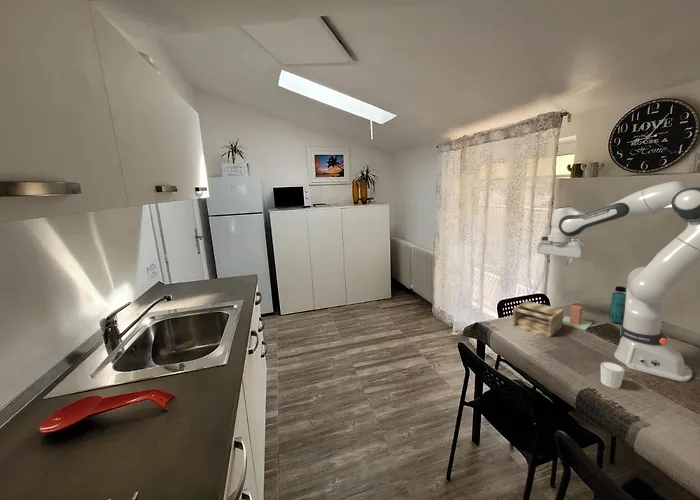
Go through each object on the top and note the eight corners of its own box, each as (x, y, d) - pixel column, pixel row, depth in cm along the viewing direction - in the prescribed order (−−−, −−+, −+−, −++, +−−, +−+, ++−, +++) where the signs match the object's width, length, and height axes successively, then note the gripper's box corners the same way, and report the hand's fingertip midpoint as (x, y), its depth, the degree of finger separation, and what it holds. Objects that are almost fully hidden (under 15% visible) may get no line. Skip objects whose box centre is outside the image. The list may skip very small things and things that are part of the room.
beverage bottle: (605, 320, 162) (609, 285, 159) (618, 320, 161) (623, 284, 158) (613, 325, 156) (618, 289, 152) (628, 325, 155) (632, 288, 151)
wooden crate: (561, 327, 157) (563, 309, 155) (550, 337, 148) (551, 318, 146) (525, 317, 171) (526, 300, 169) (512, 325, 162) (513, 308, 160)
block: (581, 322, 160) (582, 306, 159) (578, 324, 158) (580, 308, 156) (572, 320, 163) (573, 304, 162) (569, 322, 161) (571, 306, 159)
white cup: (616, 391, 108) (618, 374, 106) (594, 381, 114) (596, 364, 113) (626, 385, 110) (629, 368, 109) (605, 375, 117) (607, 359, 115)
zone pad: (592, 323, 160) (592, 322, 160) (585, 330, 153) (585, 329, 152) (566, 316, 169) (566, 316, 169) (558, 323, 162) (558, 322, 162)
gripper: (586, 238, 148) (584, 265, 150) (541, 235, 164) (539, 259, 166) (582, 240, 144) (580, 268, 147) (536, 237, 160) (534, 262, 163)
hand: (558, 263), depth 157 cm, fingers open, 8 cm apart
